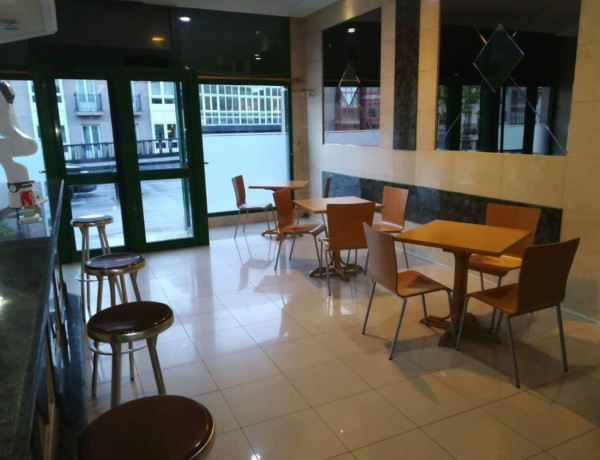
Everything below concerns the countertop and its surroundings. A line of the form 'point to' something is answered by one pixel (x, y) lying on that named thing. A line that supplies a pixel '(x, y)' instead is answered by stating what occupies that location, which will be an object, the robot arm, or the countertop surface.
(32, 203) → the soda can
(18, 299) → the countertop surface
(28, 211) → the lid
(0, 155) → the robot arm
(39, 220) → the mat
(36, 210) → the crate
